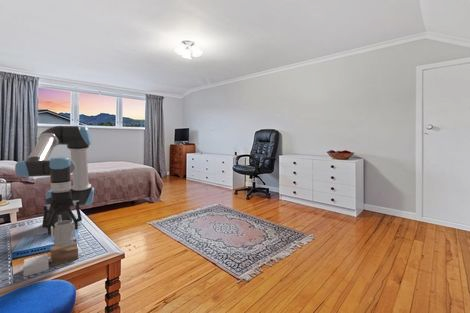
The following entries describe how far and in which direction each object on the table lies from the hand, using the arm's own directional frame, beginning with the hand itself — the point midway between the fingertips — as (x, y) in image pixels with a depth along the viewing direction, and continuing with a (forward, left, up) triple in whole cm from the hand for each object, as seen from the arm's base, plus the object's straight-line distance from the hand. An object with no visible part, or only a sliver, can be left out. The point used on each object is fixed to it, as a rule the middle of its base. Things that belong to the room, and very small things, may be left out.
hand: (63, 238), depth 110 cm
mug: (0, 0, -2) cm, 2 cm away
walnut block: (0, 0, -10) cm, 10 cm away
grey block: (+4, -10, -10) cm, 14 cm away
